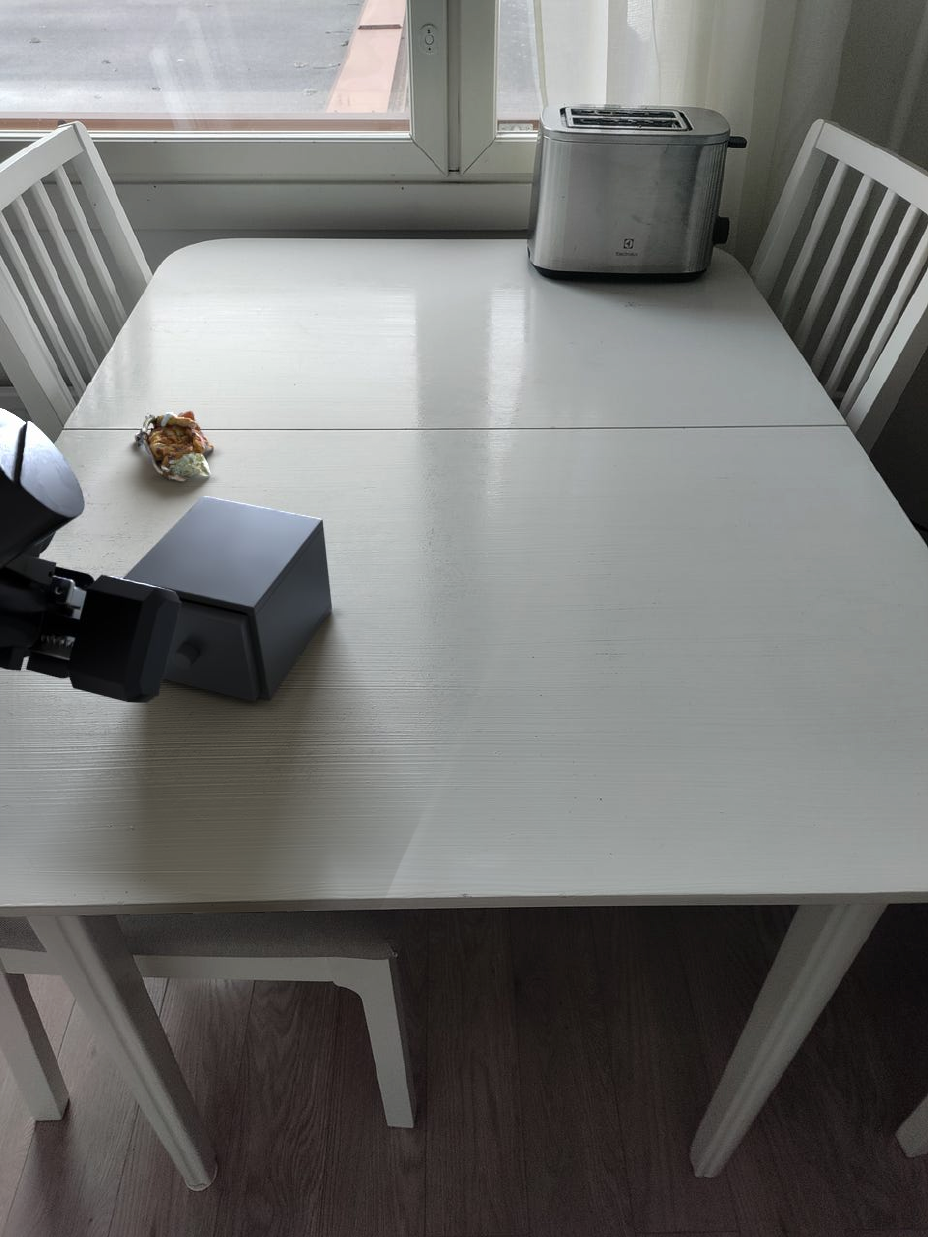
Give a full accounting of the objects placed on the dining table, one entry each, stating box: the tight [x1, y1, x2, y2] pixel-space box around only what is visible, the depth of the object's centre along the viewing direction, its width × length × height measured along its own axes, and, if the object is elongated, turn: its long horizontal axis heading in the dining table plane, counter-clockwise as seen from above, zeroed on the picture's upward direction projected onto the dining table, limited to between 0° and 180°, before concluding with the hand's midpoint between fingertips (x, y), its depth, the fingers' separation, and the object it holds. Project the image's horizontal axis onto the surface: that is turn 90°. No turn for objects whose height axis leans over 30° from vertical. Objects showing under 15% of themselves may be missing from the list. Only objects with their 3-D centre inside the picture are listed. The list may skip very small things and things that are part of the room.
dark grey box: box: [122, 495, 333, 701], centre depth 77 cm, size 12×11×9 cm
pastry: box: [134, 410, 215, 482], centre depth 102 cm, size 7×12×4 cm, turn 32°
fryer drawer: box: [163, 598, 261, 702], centre depth 76 cm, size 12×10×8 cm
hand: (99, 626), depth 60 cm, fingers closed
